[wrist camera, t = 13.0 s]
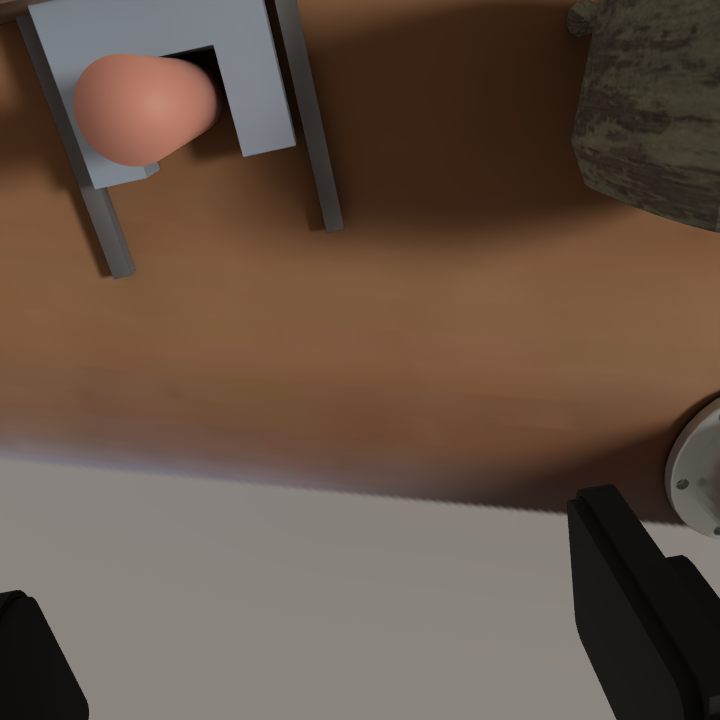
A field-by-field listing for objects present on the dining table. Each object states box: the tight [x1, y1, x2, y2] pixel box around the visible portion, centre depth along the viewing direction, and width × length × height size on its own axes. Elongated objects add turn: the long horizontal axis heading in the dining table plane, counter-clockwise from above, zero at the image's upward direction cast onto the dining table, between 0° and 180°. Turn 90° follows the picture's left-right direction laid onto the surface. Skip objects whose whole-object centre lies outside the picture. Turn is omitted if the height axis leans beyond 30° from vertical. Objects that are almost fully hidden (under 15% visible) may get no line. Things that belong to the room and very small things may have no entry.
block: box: [28, 0, 296, 189], centre depth 31 cm, size 10×8×3 cm
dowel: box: [73, 54, 223, 167], centre depth 27 cm, size 4×4×12 cm
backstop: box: [0, 0, 344, 279], centre depth 31 cm, size 16×14×5 cm
